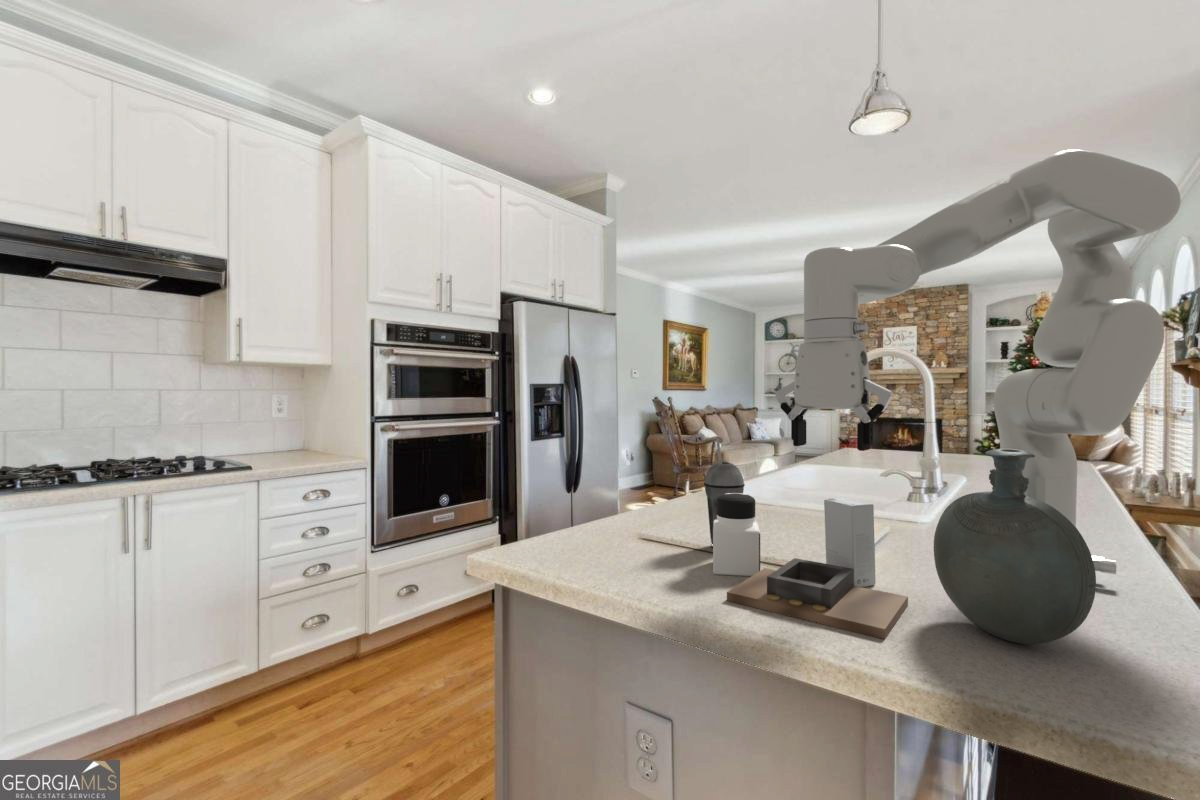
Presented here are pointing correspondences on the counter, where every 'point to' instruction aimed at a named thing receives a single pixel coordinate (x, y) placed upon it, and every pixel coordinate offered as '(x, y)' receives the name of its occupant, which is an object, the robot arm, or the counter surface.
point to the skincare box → (851, 537)
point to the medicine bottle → (736, 536)
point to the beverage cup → (721, 485)
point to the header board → (821, 597)
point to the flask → (1014, 559)
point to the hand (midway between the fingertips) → (830, 447)
